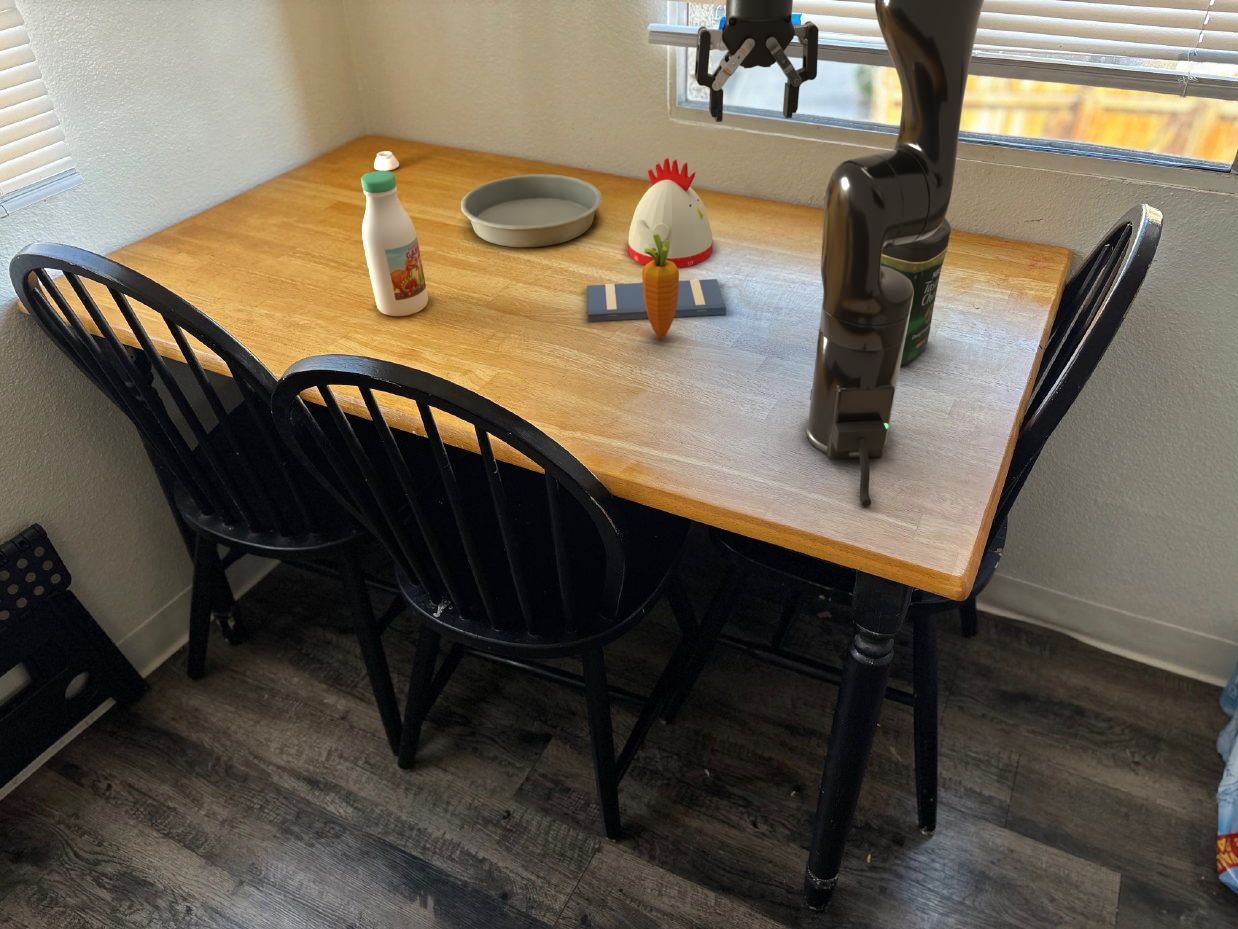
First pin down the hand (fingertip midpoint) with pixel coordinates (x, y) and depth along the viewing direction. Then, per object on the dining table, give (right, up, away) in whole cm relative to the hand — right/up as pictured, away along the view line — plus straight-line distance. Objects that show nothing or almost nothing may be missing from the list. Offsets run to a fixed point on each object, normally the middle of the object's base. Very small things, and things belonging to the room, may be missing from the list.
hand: (752, 118), depth 110 cm
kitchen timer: (-8, -7, +39) cm, 40 cm away
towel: (-11, -18, +25) cm, 32 cm away
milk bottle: (-49, -18, +26) cm, 59 cm away
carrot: (-11, -25, +16) cm, 31 cm away
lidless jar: (-64, +18, +74) cm, 100 cm away
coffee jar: (+21, -27, +12) cm, 36 cm away
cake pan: (-32, 0, +50) cm, 59 cm away
